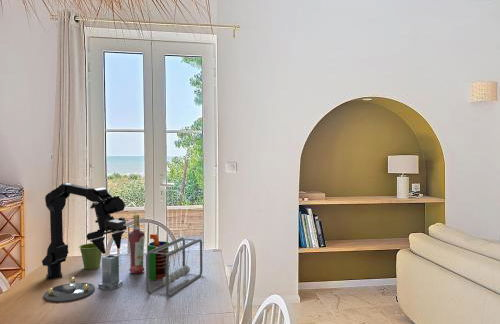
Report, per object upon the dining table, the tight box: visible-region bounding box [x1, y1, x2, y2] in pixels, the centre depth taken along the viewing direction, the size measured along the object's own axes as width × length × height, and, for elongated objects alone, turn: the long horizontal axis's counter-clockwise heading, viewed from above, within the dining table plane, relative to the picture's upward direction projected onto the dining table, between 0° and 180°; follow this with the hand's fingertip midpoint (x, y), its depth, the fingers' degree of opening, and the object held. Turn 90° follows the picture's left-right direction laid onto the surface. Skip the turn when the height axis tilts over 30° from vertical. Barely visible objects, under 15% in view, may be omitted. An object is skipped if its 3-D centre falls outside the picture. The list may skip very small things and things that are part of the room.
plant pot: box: [78, 242, 103, 271], centre depth 189 cm, size 12×12×11 cm
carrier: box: [43, 276, 96, 303], centre depth 156 cm, size 19×19×4 cm
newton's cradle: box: [145, 237, 203, 298], centre depth 165 cm, size 30×10×18 cm, turn 160°
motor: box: [147, 233, 170, 282], centre depth 175 cm, size 10×9×20 cm
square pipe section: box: [98, 254, 124, 291], centre depth 163 cm, size 9×9×13 cm
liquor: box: [128, 213, 145, 275], centre depth 181 cm, size 7×7×28 cm
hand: (111, 251), depth 164 cm, fingers open, 9 cm apart
